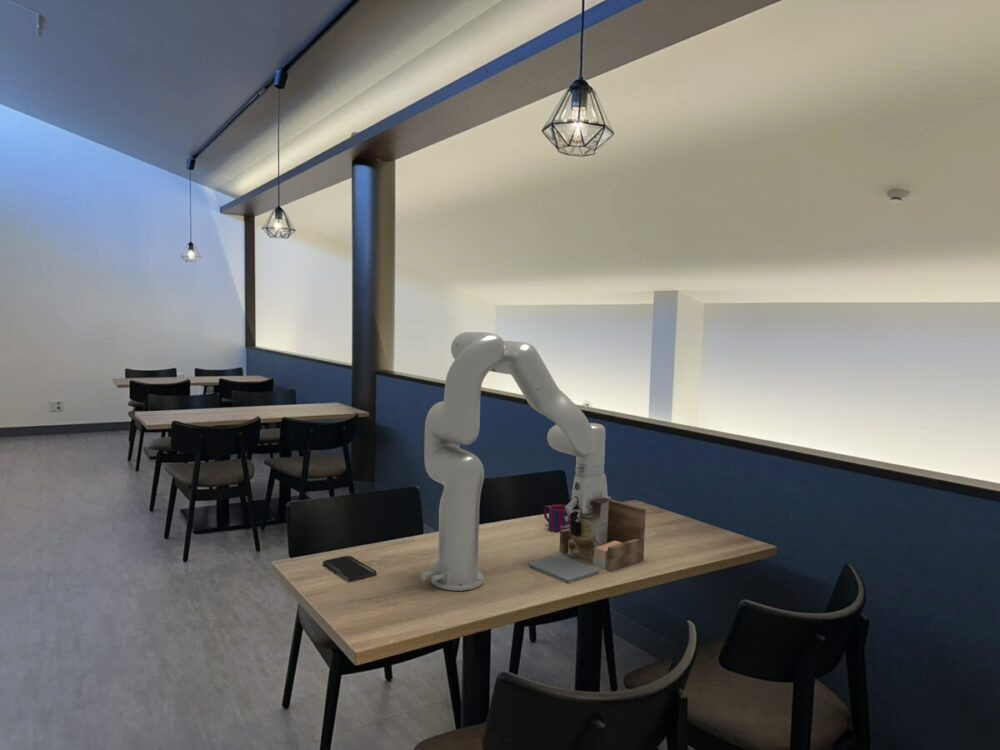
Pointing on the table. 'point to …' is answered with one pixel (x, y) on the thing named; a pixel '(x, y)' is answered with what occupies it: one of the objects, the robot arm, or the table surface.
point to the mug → (557, 518)
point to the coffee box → (590, 530)
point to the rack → (620, 535)
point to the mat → (563, 568)
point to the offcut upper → (604, 550)
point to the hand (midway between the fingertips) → (587, 532)
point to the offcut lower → (600, 563)
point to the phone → (349, 568)
